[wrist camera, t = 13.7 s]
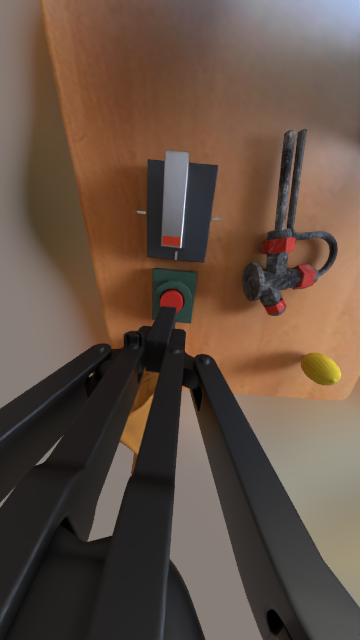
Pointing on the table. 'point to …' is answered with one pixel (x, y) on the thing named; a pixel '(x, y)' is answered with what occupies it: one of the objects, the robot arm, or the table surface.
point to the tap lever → (175, 198)
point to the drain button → (172, 299)
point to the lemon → (320, 369)
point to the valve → (285, 240)
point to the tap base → (196, 212)
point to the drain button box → (174, 281)
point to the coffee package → (139, 414)
